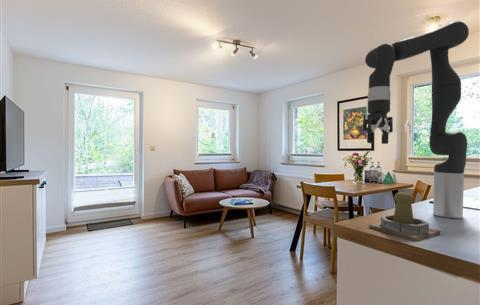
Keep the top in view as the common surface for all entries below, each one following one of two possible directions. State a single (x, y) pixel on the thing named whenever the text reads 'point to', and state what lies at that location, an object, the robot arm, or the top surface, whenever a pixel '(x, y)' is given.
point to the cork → (403, 208)
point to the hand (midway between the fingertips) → (377, 143)
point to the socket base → (405, 235)
